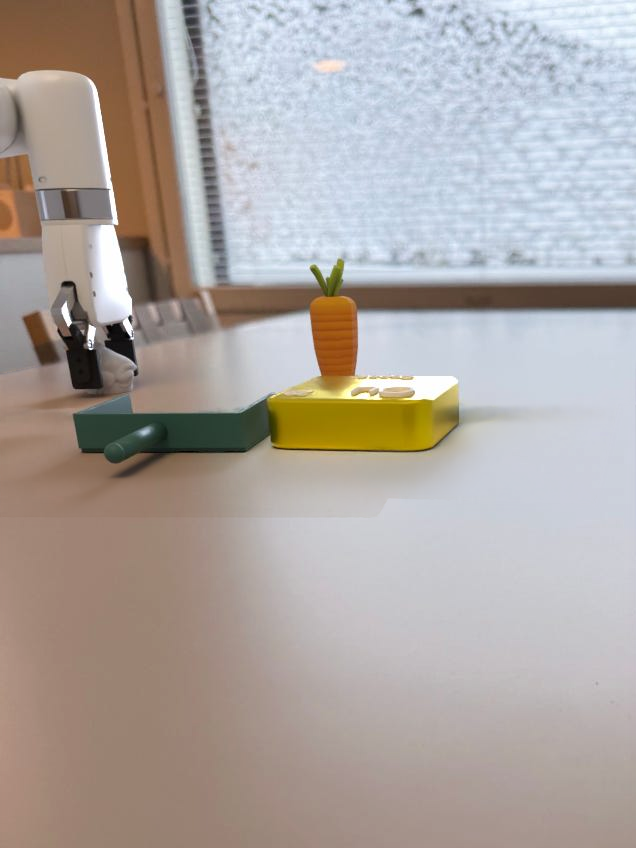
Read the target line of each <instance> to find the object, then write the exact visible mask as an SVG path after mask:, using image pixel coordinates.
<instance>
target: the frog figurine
mask: <svg viewBox="0 0 636 848" xmlns="http://www.w3.org/2000/svg"><path fill="white" fill-rule="evenodd" d="M93 349H98V355H99V361H100V366H101V372H102V378H103V384H104V386H103V388H101V389H85V391H86V393H87V394H89V395H99V396H100V395H115V394H125V393H129V392H132V391H133V390H134V377H135V376H134V372H133V371H135V370H136V369H137V366H136V365H135V364H134V363H133V362H132V361H131V360H130V359H128V358H127V357H125V356H122V355H120V354H118V353H116V352H114V351H112V350H110V349H108V348H106V347H105V344H104V345H103V343H101V342H95V341H94V343H93Z"/></svg>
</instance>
